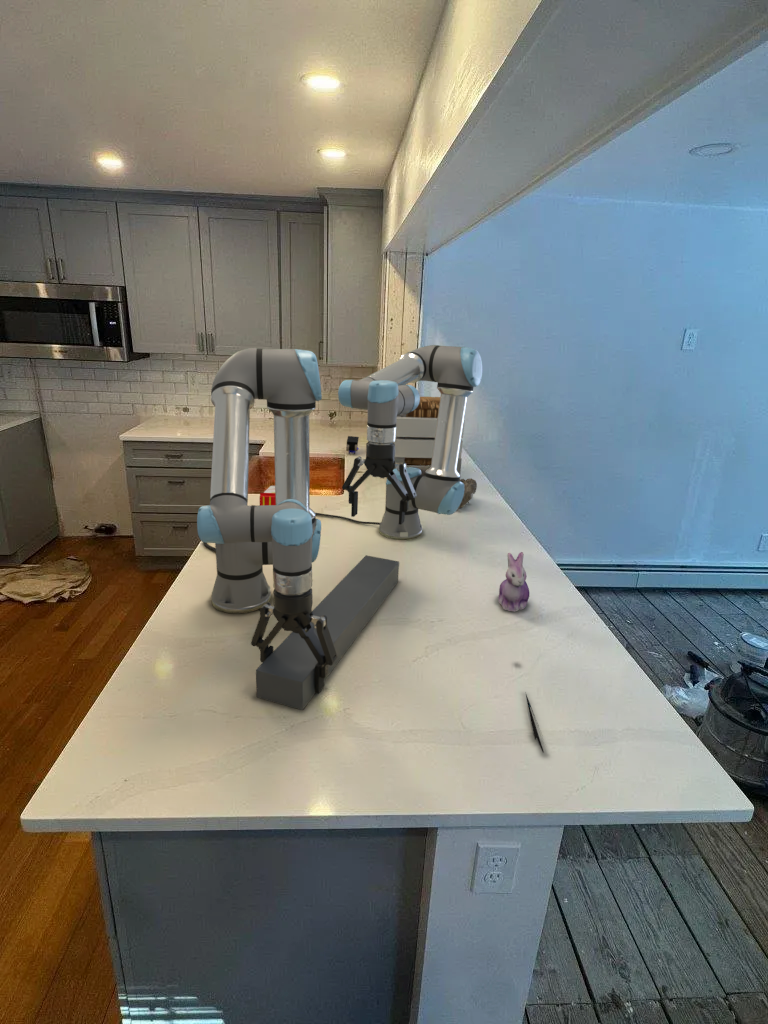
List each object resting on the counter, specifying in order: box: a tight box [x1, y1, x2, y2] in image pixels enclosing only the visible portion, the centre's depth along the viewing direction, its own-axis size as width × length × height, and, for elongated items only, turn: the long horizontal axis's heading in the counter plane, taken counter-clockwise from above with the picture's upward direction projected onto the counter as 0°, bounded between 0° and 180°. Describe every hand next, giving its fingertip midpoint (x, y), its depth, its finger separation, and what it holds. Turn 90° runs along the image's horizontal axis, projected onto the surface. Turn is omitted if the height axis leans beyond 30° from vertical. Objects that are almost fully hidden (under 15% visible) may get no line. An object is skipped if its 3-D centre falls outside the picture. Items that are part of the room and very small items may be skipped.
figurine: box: [497, 551, 530, 612], centre depth 152 cm, size 9×10×15 cm
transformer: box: [393, 396, 465, 476], centre depth 268 cm, size 34×33×41 cm
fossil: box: [457, 477, 478, 510], centre depth 233 cm, size 22×10×15 cm
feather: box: [525, 691, 547, 753], centre depth 115 cm, size 2×28×2 cm
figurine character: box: [345, 435, 360, 455], centre depth 308 cm, size 7×8×15 cm
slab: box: [255, 554, 400, 711], centre depth 138 cm, size 60×10×6 cm, turn 161°
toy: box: [259, 485, 276, 505], centre depth 208 cm, size 12×13×30 cm
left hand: (294, 682), depth 118 cm, fingers open, 11 cm apart
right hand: (377, 519), depth 154 cm, fingers open, 13 cm apart
